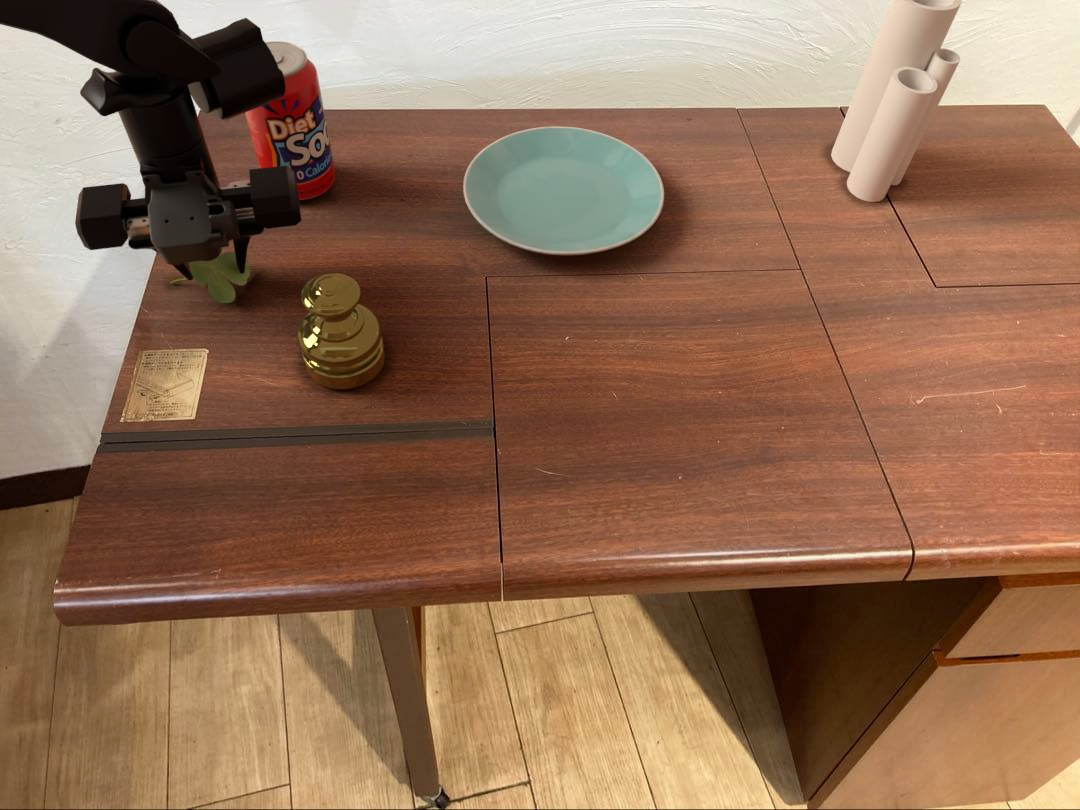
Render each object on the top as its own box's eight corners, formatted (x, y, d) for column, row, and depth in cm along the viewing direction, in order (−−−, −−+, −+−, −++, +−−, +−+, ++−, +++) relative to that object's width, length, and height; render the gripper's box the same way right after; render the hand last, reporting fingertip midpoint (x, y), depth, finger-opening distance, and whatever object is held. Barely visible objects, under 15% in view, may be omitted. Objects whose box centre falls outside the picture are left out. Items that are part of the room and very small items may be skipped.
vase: (822, 144, 100) (885, -21, 84) (877, 141, 101) (949, -22, 85) (856, 202, 94) (930, 36, 78) (914, 200, 95) (1000, 34, 79)
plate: (430, 238, 86) (428, 218, 84) (507, 127, 99) (507, 106, 97) (628, 297, 83) (631, 277, 80) (681, 173, 95) (686, 153, 93)
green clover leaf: (215, 316, 85) (261, 299, 82) (152, 321, 77) (200, 302, 75) (195, 250, 84) (241, 230, 82) (130, 248, 77) (177, 227, 74)
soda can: (277, 159, 93) (246, 33, 81) (344, 166, 93) (323, 41, 81) (256, 202, 88) (219, 75, 77) (327, 210, 88) (301, 83, 76)
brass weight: (341, 320, 79) (324, 242, 71) (402, 353, 77) (391, 276, 69) (288, 368, 75) (264, 291, 67) (350, 404, 73) (333, 329, 65)
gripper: (35, 212, 61) (111, 348, 74) (288, 184, 65) (320, 318, 77) (50, 127, 68) (118, 265, 80) (279, 106, 71) (310, 241, 84)
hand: (216, 273), depth 80 cm, fingers closed on green clover leaf, 4 cm apart
